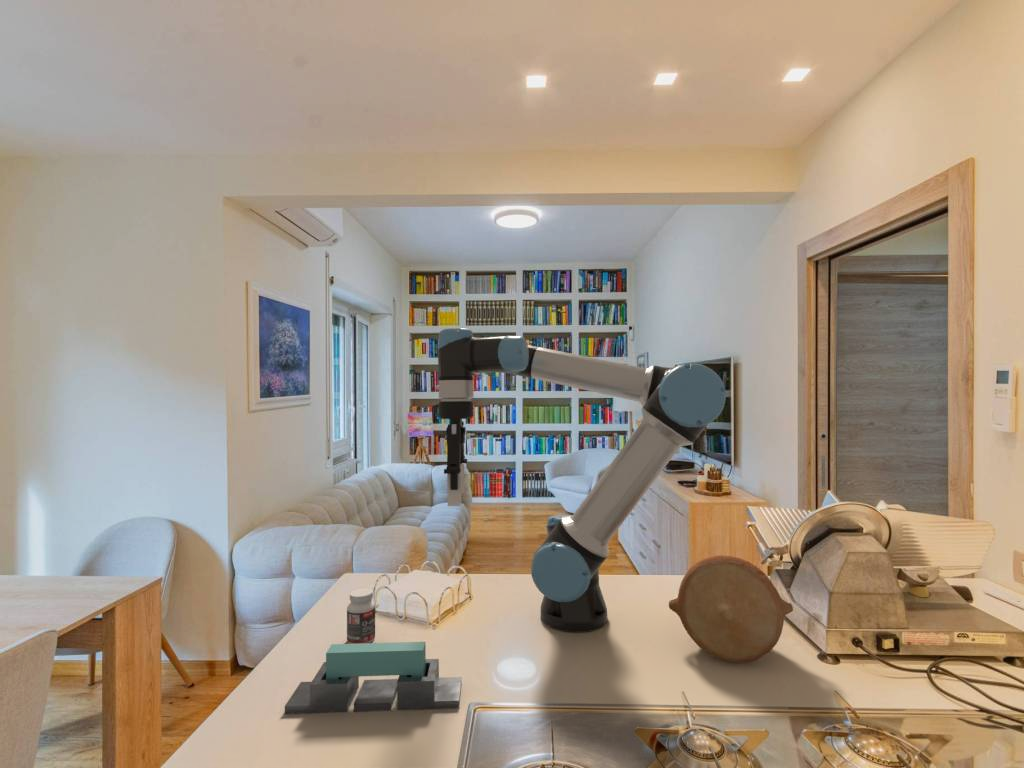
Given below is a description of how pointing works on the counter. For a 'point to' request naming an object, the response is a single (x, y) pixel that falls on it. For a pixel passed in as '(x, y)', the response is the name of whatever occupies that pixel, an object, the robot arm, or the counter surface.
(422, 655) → the clip
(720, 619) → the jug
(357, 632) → the pill bottle
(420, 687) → the rail
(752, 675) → the counter surface
